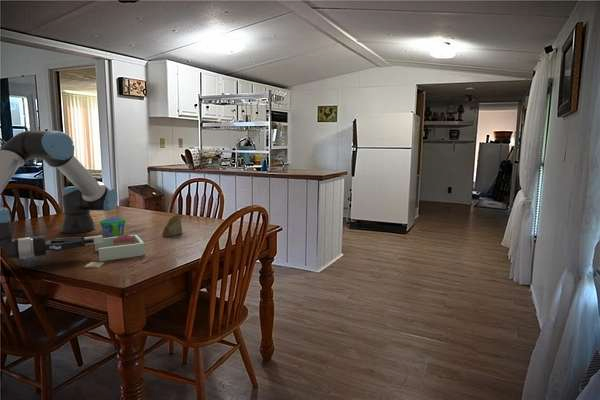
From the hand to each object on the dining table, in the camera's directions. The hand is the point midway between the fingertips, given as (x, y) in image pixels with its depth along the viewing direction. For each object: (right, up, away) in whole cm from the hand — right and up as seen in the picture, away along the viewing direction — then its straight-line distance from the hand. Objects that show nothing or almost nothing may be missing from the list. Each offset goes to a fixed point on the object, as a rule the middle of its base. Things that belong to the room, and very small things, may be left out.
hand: (102, 239), depth 161 cm
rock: (+17, -2, +36) cm, 40 cm away
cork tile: (+3, -9, -13) cm, 16 cm away
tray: (+5, -6, +4) cm, 9 cm away
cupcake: (+7, -6, +6) cm, 11 cm away
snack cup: (-6, -4, +22) cm, 23 cm away
